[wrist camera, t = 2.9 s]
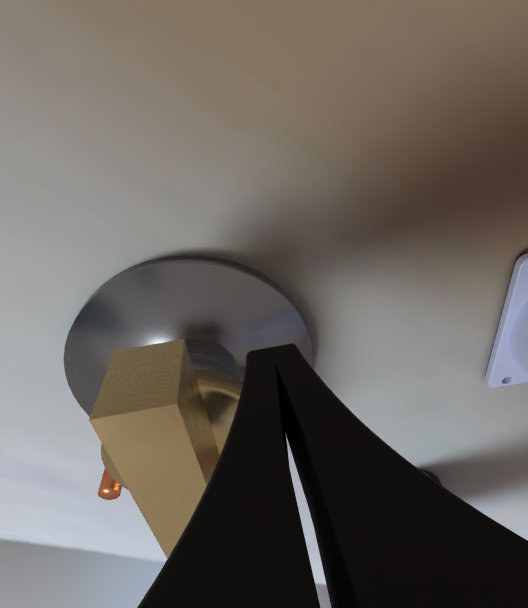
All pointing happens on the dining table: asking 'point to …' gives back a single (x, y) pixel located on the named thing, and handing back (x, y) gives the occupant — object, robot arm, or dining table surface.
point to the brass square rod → (163, 431)
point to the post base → (180, 322)
